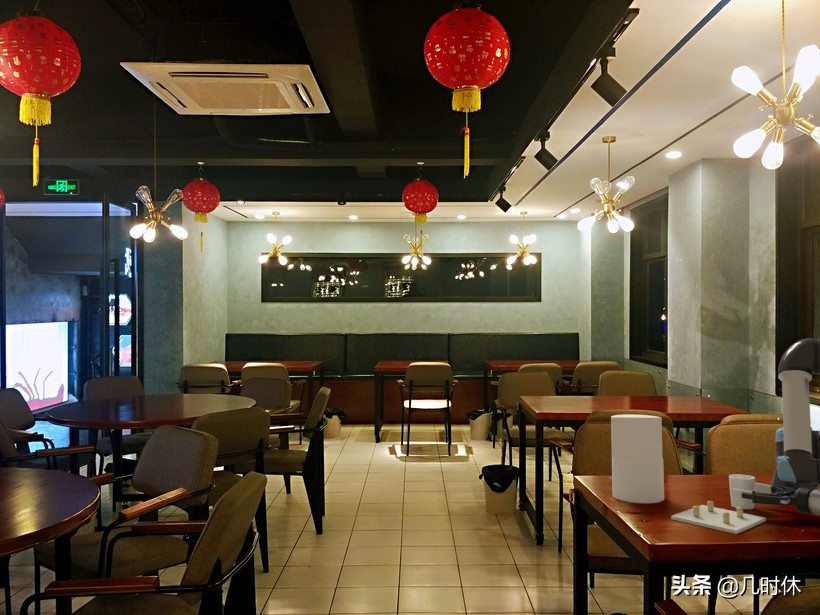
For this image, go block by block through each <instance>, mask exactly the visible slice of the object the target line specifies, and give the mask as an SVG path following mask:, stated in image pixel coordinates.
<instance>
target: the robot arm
mask: <svg viewBox="0 0 820 615" xmlns="http://www.w3.org/2000/svg"><path fill="white" fill-rule="evenodd" d="M777 368H778V372H777V375H778V379H779V380H780V382H781V392H782V393H781V394H782V398H781V399H782V427H779V428H777V429H776V431H775V440H774V442H775V470H774V473H773V477H772V479H771V482H770V483H771V484H765V483H759V482H755V491H752V492H751V491H745V490H739V489H732V497H734V498H739V499H745V500H750V501H752V503H754V504H758V505H759V504H761V505H772V506H782V507H789V506H791V505H794V506H795V508H796V510H797V511H798V512H799V513H802V514H803V513H804V514H808V515H809V514H810V515H816V516H820V430H813V427H812V424H811V421H812V420H811V403H810V402H811V401H810V384H809V383H810V382H811V381H812V379H813V374H814V375H815V374H816V375H820V338H813V337H812V338H811V337H810V338H803V339H800V340H798V341H796V342H794V343H793V344H791V345H790V346H789V347H788V348H787V349H786V351H785V352H784V353H783V355H782V356H781V358H780V362H779V364H778V367H777Z"/></svg>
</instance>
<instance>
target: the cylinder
mask: <svg viewBox="0 0 820 615" xmlns="http://www.w3.org/2000/svg"><path fill="white" fill-rule="evenodd" d="M662 420H663V419H662V417H661V416H657V415H656V416H655V415H650V414H649V415H647V414H615V415H612V416H610V426H611V427H610V428H611V430H610V431H611V435H610V436H611V473H612V474H611V475H612V476H611V479H612V480H611V481H612V482H611V484H612V497H613V498H614V499H617V500H618V499H619V500H618V501H623V502H626V501H627V503H632V504H633V503H635V504H656V503H661V502H664V501H665V482H664V480H665V478H664V476H665V471H664V458H663V432H662V431H663V426H662V423H663V422H662Z"/></svg>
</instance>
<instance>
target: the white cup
mask: <svg viewBox="0 0 820 615" xmlns="http://www.w3.org/2000/svg"><path fill="white" fill-rule="evenodd" d="M728 482H729V483H728V484H729V494H730V496H729V497H730V502H731V504H730V505H731V507H733V508H734V509H737V507H743V510H753V509H755V503H752V501H750V500H745V499H739V498H734V497H732V489H739V490H745V491H751V492H752V491H755V483H756V477H755V476H752V475H749V474H743V473H742V474H741V473H738V474H737V473H734V474H733V473H732V474H729V475H728ZM755 492H756V491H755Z"/></svg>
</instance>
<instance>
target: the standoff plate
mask: <svg viewBox="0 0 820 615" xmlns="http://www.w3.org/2000/svg"><path fill="white" fill-rule="evenodd" d="M706 502H707V504H706V505H705V504H701V505H693V506H692V508H690V509H687V510H684V511H682V512H678V513H675V514H673V515H671V516H670V519H671V520H674V521H677V522H681V523H686V524H691V525H695V526H699V527H704V528H709V529H712V530H717V531H720V532H721V531H722V532H727V533H730V534H735V535H737V534H738V535H739V534H740V533H742V532H745V531H747V530H749V529H751V528H754V527H756V526H758V525H761V524H763V523H764V522H767V517H764V516H760V515H756V514H755V515H754V514H749V513H745V512H744V509H743V507H737V508H736V511H734V510H729V509H726V508H719V507H715V505H714V504H715V503H714V501H713V500H712V501H711V500H707V501H706Z"/></svg>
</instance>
